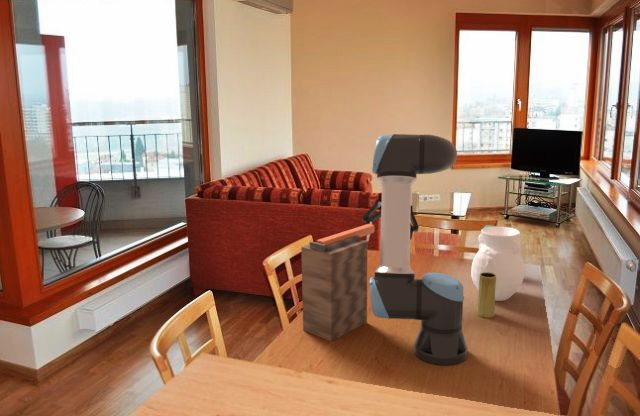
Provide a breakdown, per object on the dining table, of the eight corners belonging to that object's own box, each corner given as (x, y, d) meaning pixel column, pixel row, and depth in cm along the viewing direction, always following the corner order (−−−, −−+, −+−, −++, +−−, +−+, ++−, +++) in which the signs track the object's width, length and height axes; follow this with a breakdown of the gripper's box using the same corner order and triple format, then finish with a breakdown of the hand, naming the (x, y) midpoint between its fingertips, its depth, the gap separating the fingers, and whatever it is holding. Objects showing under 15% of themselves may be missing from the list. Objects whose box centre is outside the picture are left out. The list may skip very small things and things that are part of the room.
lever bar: (368, 231, 193) (368, 223, 192) (374, 232, 191) (374, 225, 190) (316, 248, 174) (316, 240, 173) (323, 249, 172) (323, 241, 172)
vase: (498, 314, 192) (500, 274, 189) (489, 319, 188) (492, 279, 185) (481, 309, 196) (483, 270, 193) (473, 314, 192) (475, 275, 189)
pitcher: (533, 298, 206) (538, 231, 200) (500, 309, 196) (504, 240, 190) (492, 283, 221) (495, 221, 215) (459, 293, 211) (462, 229, 205)
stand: (339, 313, 195) (338, 229, 188) (366, 322, 187) (367, 235, 180) (303, 330, 182) (301, 240, 175) (331, 341, 174) (330, 247, 167)
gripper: (428, 204, 211) (420, 254, 200) (362, 193, 215) (351, 241, 204) (430, 193, 205) (423, 243, 194) (363, 182, 208) (351, 230, 197)
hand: (386, 242), depth 199 cm, fingers open, 13 cm apart
